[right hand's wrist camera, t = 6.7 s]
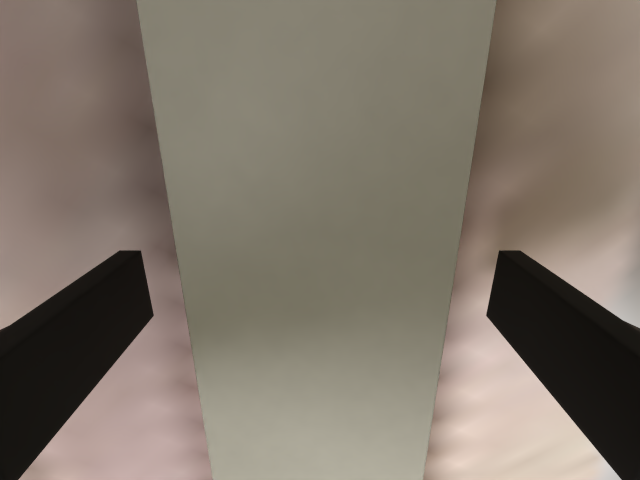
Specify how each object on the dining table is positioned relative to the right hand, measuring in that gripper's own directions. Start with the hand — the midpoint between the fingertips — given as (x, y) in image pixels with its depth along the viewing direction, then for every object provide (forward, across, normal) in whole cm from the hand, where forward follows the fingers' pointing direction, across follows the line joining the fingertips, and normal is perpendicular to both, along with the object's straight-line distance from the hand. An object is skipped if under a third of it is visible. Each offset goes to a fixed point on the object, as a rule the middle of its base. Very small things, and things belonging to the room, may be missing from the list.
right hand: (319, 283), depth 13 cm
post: (+2, 0, -34) cm, 34 cm away
